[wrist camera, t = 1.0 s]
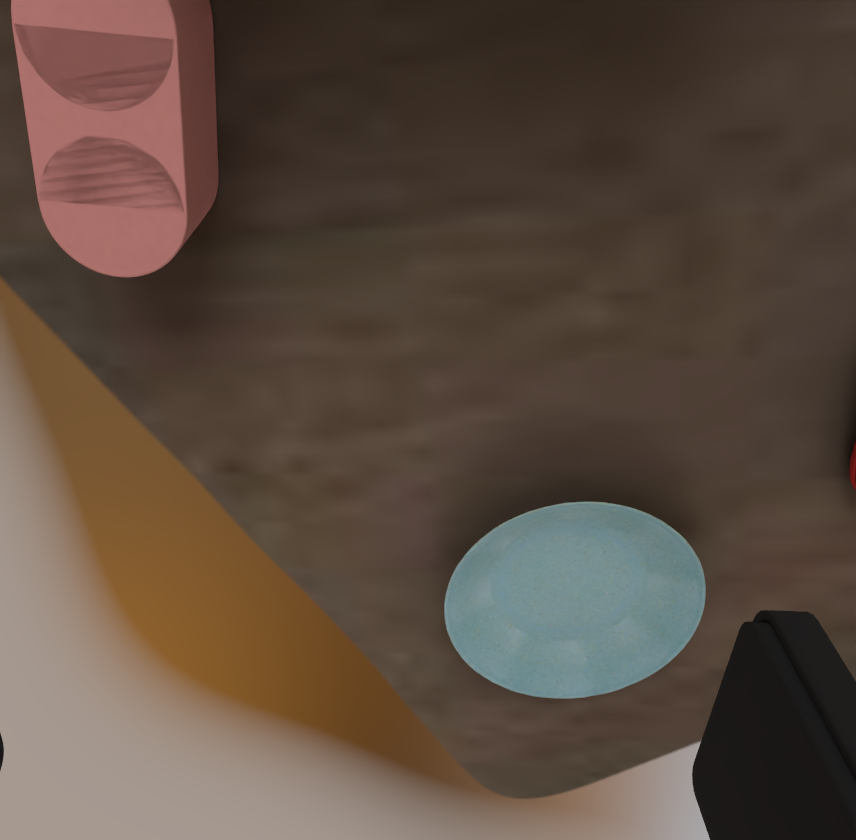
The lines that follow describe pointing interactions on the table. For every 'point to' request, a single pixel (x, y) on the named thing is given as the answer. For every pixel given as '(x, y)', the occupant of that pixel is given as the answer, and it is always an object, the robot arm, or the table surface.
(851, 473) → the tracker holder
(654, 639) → the saucer
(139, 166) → the pink notched rounded block
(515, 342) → the table surface
